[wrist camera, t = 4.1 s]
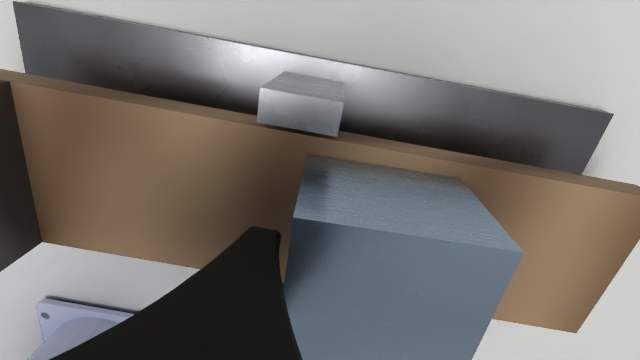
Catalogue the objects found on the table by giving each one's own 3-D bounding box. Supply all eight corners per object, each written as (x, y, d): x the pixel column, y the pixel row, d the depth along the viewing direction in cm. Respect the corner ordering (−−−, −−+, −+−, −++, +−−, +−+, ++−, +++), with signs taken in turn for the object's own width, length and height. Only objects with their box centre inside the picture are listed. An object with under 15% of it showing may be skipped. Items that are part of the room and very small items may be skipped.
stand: (603, 110, 14) (730, 149, 9) (507, 294, 18) (563, 383, 13) (25, 2, 14) (-135, -13, 9) (61, 214, 18) (-38, 277, 13)
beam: (635, 185, 12) (776, 257, 8) (558, 310, 14) (638, 412, 11) (-48, 60, 11) (-246, 74, 8) (-8, 212, 14) (-142, 282, 10)
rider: (418, 295, 13) (451, 400, 9) (289, 276, 13) (271, 375, 9) (460, 177, 11) (523, 252, 7) (307, 154, 11) (293, 217, 7)
